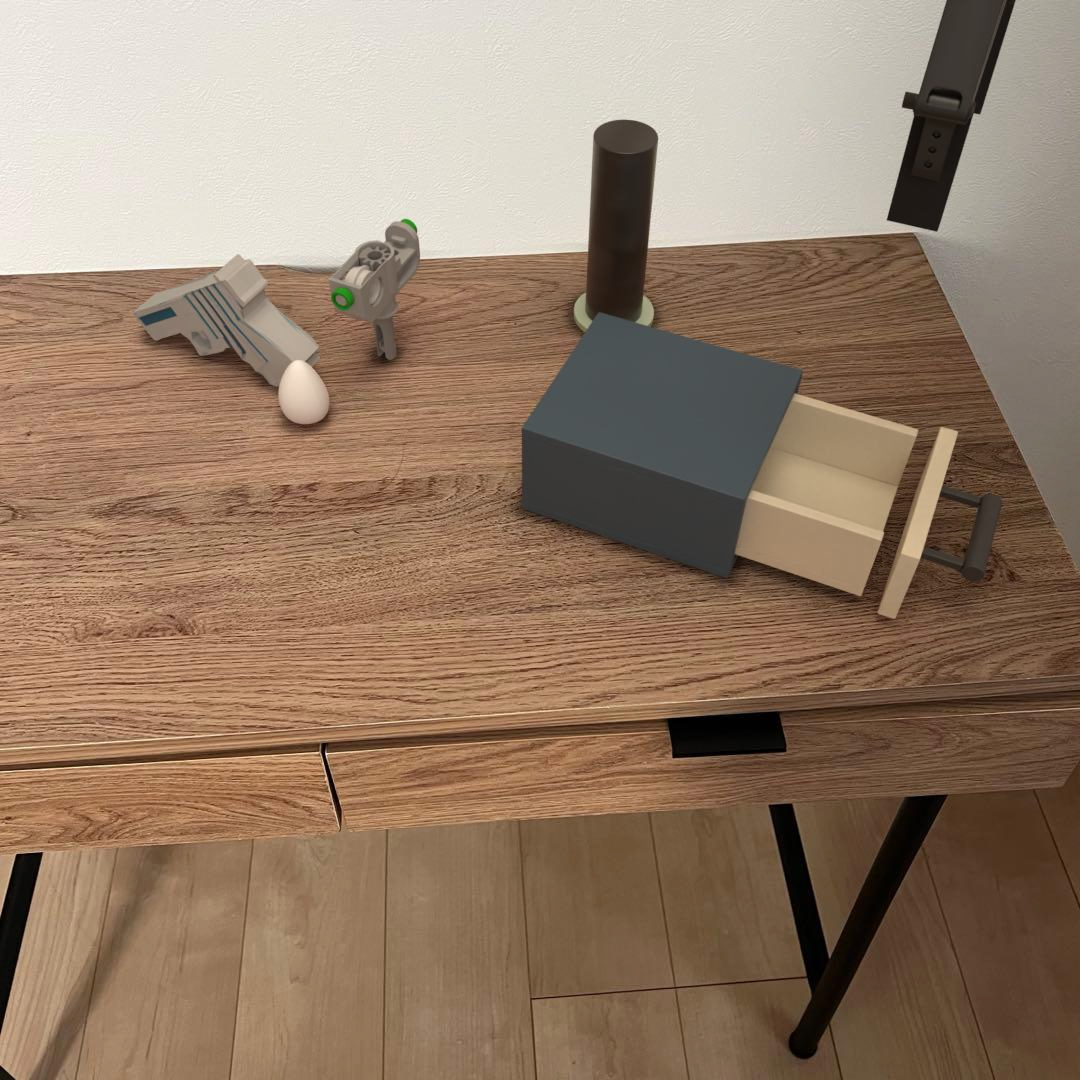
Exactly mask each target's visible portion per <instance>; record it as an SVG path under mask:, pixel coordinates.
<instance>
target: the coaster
mask: <svg viewBox="0 0 1080 1080" xmlns="http://www.w3.org/2000/svg"><path fill="white" fill-rule="evenodd" d="M585 304H586V291H585V292H584V293H582V294H581V295H580V296H579V297H578V298H577V299H576V301H575V303H574V306H573V319H574V322H575V325H577V327H578V328H579V329H580V330H581V331H582V332H583V333H585V332H586V330H587V329H588V327H589V326H590V324H591V323H592V320H591V319H590V318H589V317H588V316H587V314H586V311H585ZM654 317H655V307H654V306H653V303H652V301H650V299H649V298H648V297H646V295H644V294H643V305H642V313H641V316H640V317H639V319H638V320H637V321H636V323H639V324H643V325H646V326H650V327H652V325H653V323H654V319H655V318H654Z"/></svg>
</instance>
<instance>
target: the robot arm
mask: <svg viewBox="0 0 1080 1080" xmlns="http://www.w3.org/2000/svg"><path fill="white" fill-rule="evenodd" d="M1016 2H1017V0H946V1H945V5H944V8H943V10H942V14H941V18H940V21H939V24H938V29H937V31H936V35H935V38H934V41H933V45H932V47H931V51H930V55H929V58H928V61H927V64H926V68H925V71H924V75H923V78H922V82H921V86H920V89H919V91H918V93H917V92H916V93H915V92H909V91H905V92H904V95H903V99H902V104H901V108H902V109H906V110H912V113H913V114H912V115H913V117H912V122H911V126H910V128H909V129H910V130H909V133H908V136H907V141H906V145H905V148H904V152H903V156H902V160H901V163H900V166H899V167H900V168H899V171H898V175H897V179H896V183H895V186H894V189H893V194H892V197H891V202H890V206H889V209H888V214H887V217H886V221H888V222H892V223H897V224H900V225H905V226H910V227H913V228H918V229H923V230H928V231H931V232H935V233H936V232H938V231H939V229H940V225H941V222H942V219H943V216H944V212H945V209H946V206H947V203H948V199H949V196H950V193H951V189H952V186H953V182H954V179H955V177H956V173H957V170H958V167H959V163H960V160H961V157H962V153H963V150H964V147H965V143H966V140H967V138H968V134H969V130H970V127H971V124H972V120H973V117H974V114H975V115H981V113H982V110H983V107H984V104H985V101H986V98H987V94H988V91H989V89H990V85H991V81H992V78H993V75H994V73H995V69H996V65H997V62H998V59H999V55H1000V52H1001V50H1002V46H1003V43H1004V39H1005V37H1006V34H1007V30H1008V27H1009V23H1010V20H1011V17H1012V13H1013V10H1014V7H1015V5H1016Z"/></svg>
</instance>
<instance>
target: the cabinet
mask: <svg viewBox="0 0 1080 1080" xmlns="http://www.w3.org/2000/svg"><path fill="white" fill-rule="evenodd" d="M583 333H584V334H583V335H582V336H581V338H580V339H579V341H578V342H577V344H576V345H575V347H574V348H573V350H572V351H571V353H570V355H569V356H568V357H567V359H566V360H565V362H564V363H563V365H562V366H561V368H560V369H559V371H558V372H557V374H556V376H555V377H554V379H552V382H551V383H550V385H549V386H548V387H547V388H546V390H545V392H544V393H543V395H542V397H541V398H540V400H539V401H538V403H537V404H536V405H535V407H534V409H533V410H532V411H531V413H530V415H529V416H528V418H527V419H526V420H525V422H524V424H523V425H522V427H521V509H523V510H525V511H528V512H531V513H534V514H538V515H540V516H543V517H546V518H549V519H551V520H554V521H558V522H561V523H563V524H567V525H569V526H572V527H576V528H578V529H581V530H584V531H587V532H590V533H593V534H595V535H599V536H602V537H604V538H607V539H611V540H614V541H616V542H619V543H622V544H625V545H628V546H631V547H633V548H637V549H639V550H643V551H645V552H648V553H651V554H655V555H656V556H660V557H663V558H666V559H668V560H672V561H675V562H678V563H681V564H683V565H686V566H689V567H692V568H695V569H698V570H701V571H704V572H707V573H710V574H713V575H716V576H718V577H721V578H724V579H729V577H730V575H731V572H732V571H733V568H734V565H735V563H736V561H737V558H738V556H739V555H736V554H735V551H736V546H737V542H738V537H739V533H740V528H741V523H742V519H743V514H744V510H745V505H746V500H747V498H748V496H749V494H750V491H751V489H752V487H753V485H754V482H755V480H756V478H757V476H758V474H759V471H760V469H761V467H762V465H763V462H764V460H765V458H766V456H767V454H768V451H769V449H770V447H771V445H772V442H773V440H774V438H775V436H776V434H777V431H778V429H779V427H780V425H781V422H782V420H783V418H784V416H785V414H786V411H787V409H788V407H789V405H790V402H791V400H792V398H793V396H794V394H798V393H799V389H800V386H801V383H802V377H803V373H804V371H803V369H800V368H796V367H794V366H793V367H792V366H790V365H786V364H783V363H779V362H775V361H771V360H769V359H766V358H765V359H764V358H761V357H757V356H755V355H751V354H747V353H744V352H740V351H737V350H733V349H730V348H726V347H723V346H719V345H716V344H712V343H708V342H706V341H702V340H699V339H695V338H691V337H688V336H684V335H681V334H677V333H674V332H671V331H667V330H664V329H660V328H656V327H652V326H651V327H650V326H646V325H643V324H639V323H636V322H632V321H629V320H625V319H622V318H618V317H615V316H611V315H608V314H604V313H601V312H598V314H597V315H596V317H595V318H594V320H593V321H592V323H591V324H590V326H589V327H588V329H587V330H586V332H583Z"/></svg>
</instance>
